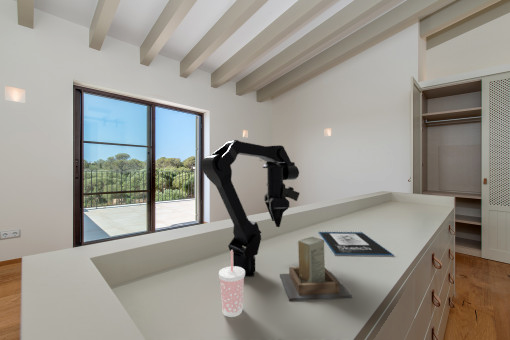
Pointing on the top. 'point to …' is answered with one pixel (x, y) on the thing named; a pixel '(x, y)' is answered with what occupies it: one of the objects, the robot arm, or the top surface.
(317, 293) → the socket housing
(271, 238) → the top surface
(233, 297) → the beverage cup
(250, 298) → the top surface
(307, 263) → the skincare box
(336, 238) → the sketchbook
